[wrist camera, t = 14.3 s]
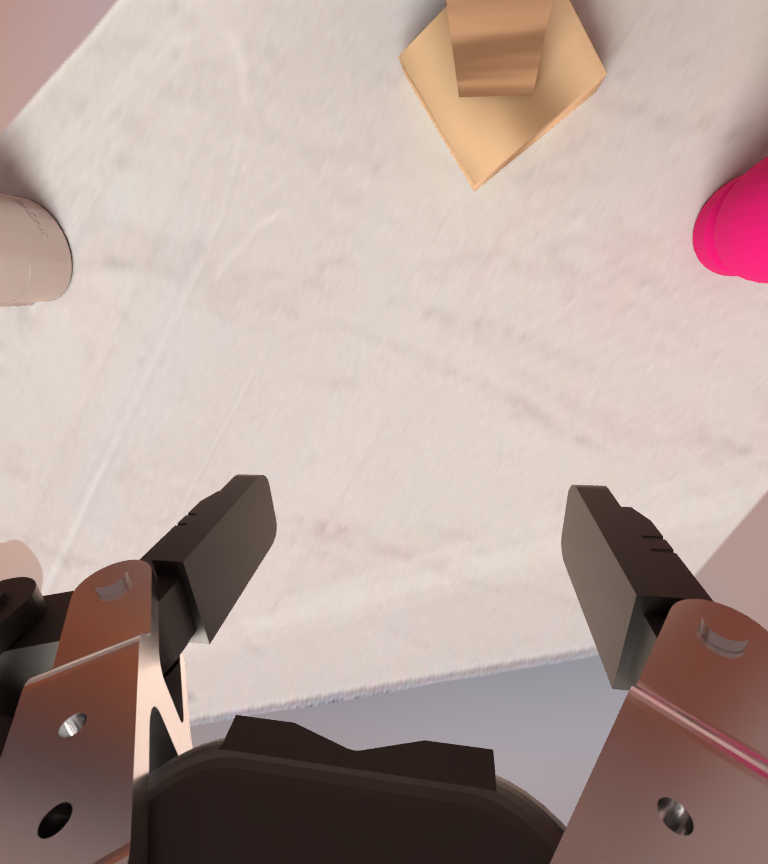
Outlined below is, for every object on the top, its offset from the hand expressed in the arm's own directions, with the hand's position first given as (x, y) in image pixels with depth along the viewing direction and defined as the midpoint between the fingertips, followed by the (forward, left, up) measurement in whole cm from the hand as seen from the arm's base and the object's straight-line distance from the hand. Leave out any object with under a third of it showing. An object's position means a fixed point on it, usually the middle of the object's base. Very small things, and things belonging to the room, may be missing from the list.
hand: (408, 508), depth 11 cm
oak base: (+12, +14, -25) cm, 31 cm away
